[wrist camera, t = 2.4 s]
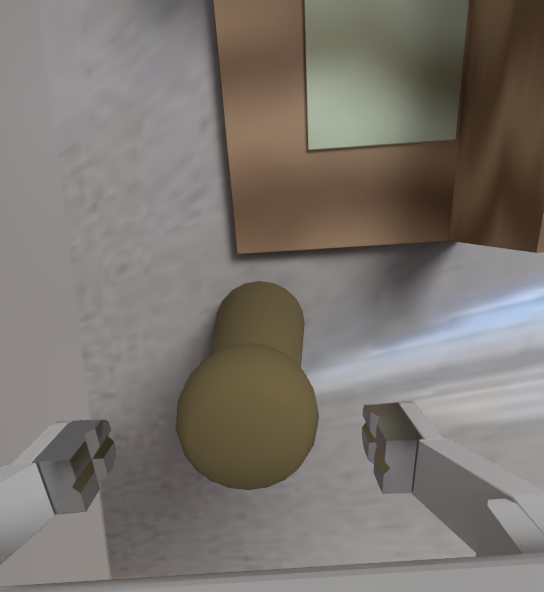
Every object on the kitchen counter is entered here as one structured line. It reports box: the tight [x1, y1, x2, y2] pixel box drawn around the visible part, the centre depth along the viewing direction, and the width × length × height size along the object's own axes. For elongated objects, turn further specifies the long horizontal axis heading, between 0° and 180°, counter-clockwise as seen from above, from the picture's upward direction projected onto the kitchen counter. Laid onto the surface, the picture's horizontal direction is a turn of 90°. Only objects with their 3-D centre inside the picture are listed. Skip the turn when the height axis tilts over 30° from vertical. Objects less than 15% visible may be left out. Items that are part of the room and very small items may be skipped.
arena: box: [214, 0, 544, 254], centre depth 13 cm, size 18×14×7 cm
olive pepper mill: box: [176, 281, 319, 490], centre depth 14 cm, size 6×6×11 cm
